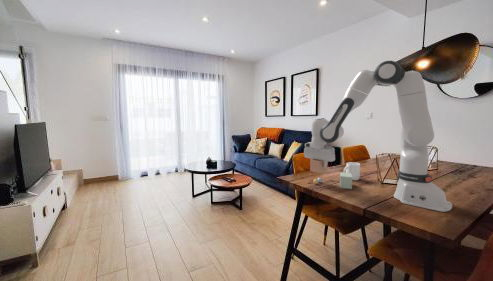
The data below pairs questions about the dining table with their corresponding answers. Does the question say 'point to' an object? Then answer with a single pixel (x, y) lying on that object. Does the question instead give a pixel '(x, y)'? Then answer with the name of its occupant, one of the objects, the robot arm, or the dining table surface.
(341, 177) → the mint green block
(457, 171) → the dining table surface
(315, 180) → the marble amber
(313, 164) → the dusty pink block
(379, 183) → the dining table surface
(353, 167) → the mug
